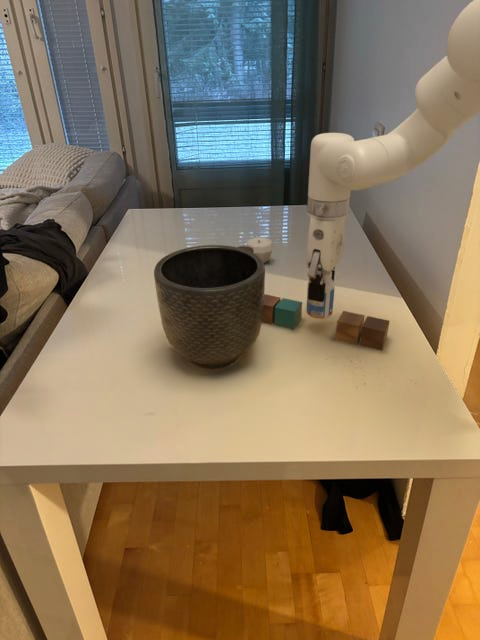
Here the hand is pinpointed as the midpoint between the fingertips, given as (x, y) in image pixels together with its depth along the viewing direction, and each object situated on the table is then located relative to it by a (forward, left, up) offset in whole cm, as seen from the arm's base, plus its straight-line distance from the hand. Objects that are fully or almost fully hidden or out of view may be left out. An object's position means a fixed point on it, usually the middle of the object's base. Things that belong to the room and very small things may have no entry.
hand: (320, 292), depth 94 cm
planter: (+16, +17, -9) cm, 25 cm away
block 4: (-12, 0, -9) cm, 15 cm away
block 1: (+12, 0, -9) cm, 15 cm away
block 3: (-7, 0, -9) cm, 11 cm away
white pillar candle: (+26, -27, -9) cm, 38 cm away
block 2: (+7, 0, -9) cm, 11 cm away
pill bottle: (0, 0, -5) cm, 5 cm away
